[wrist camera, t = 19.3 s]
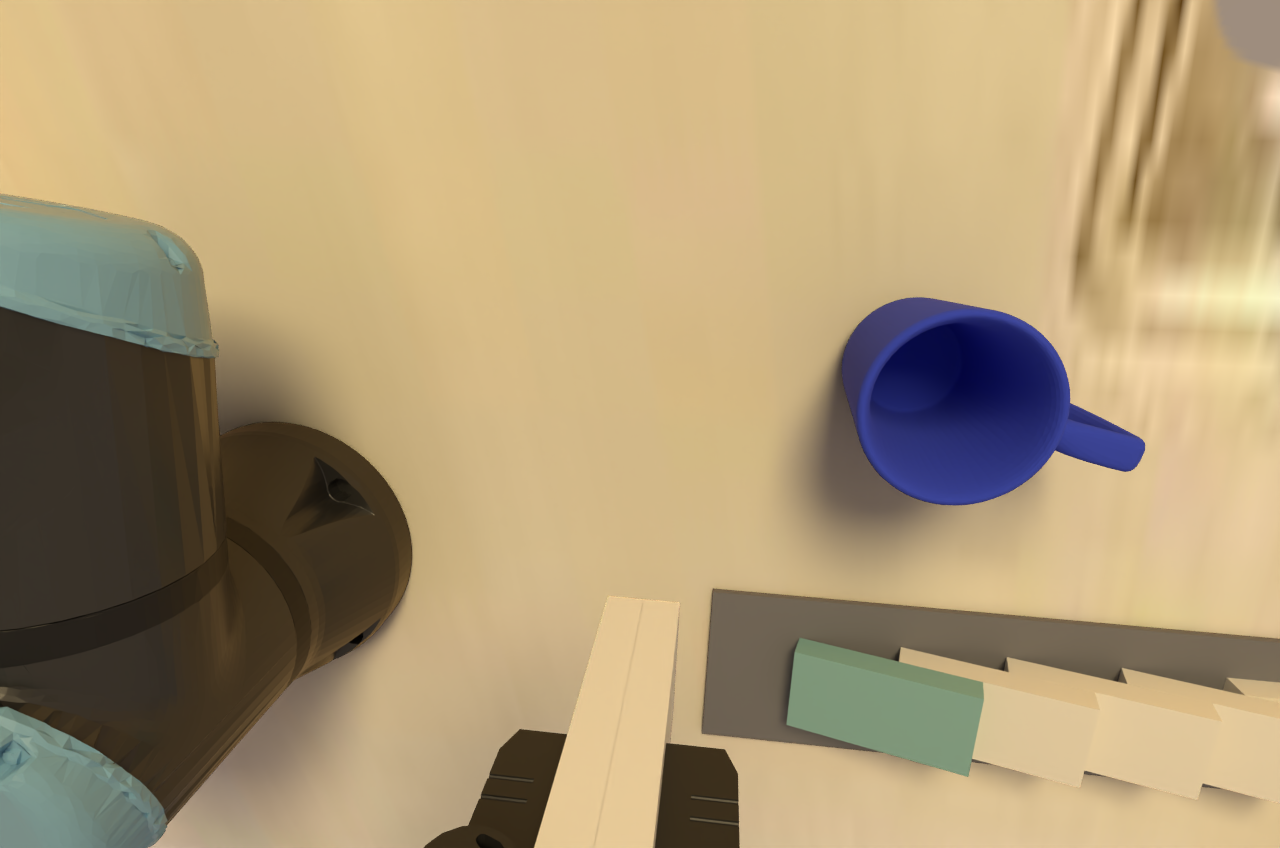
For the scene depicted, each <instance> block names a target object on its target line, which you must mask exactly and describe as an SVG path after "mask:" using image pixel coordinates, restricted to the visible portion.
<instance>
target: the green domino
mask: <svg viewBox="0 0 1280 848" xmlns="http://www.w3.org/2000/svg"><path fill="white" fill-rule="evenodd" d="M983 702H984V690H983V682H980V681H976V680H972V679H968V678H964V677H960V676H955V675H951V674H947V673H943V672H939V671H935V670H931V669H927V668H923V667H918V666H914V665H910V664H906V663H902V662H898V661H894V660H890V659H886V658H882V657H877V656H873V655H869V654H865V653H861V652H857V651H853V650H849V649H845V648H840V647H836V646H832V645H828V644H824V643H820V642H816V641H812V640H808V639H803V638H800V639H799V641H798V644H797V647H796V650H795V653H794V662H793V671H792V680H791V689H790V698H789V706H788V715H787V724H786V725H789V726H792V727H796V728H799V729H803V730H806V731H810V732H813V733H817V734H820V735H824V736H827V737H831V738H834V739H838V740H841V741H845V742H848V743H852V744H855V745H859V746H862V747H866V748H869V749H873V750H876V751H880V752H883V753H887V754H890V755H894V756H897V757H901V758H904V759H908V760H911V761H915V762H918V763H922V764H925V765H929V766H932V767H936V768H939V769H943V770H946V771H950V772H953V773H957V774H960V775H964V776H967V777H968V776H969V771H970V766H971V761H972V756H973V751H974V746H975V741H976V736H977V731H978V727H979V722H980V717H981V712H982V707H983Z"/></svg>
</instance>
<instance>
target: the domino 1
mask: <svg viewBox="0 0 1280 848" xmlns="http://www.w3.org/2000/svg"><path fill="white" fill-rule="evenodd" d="M898 662H902V663H906V664H910V665H914V666H918V667H923V668H927V669H931V670H935V671H939V672H943V673H947V674H951V675H955V676H960V677H964V678H968V679H972V680H976V681H980V682H983V690H984V702H983V707H982V712H981V717H980V722H979V727H978V731H977V736H976V741H975V746H974V751H973V756H972V759H975V760H979V761H983V762H986V763H990V764H993V765H997V766H1001V767H1004V768H1008V769H1012V770H1015V771H1019V772H1023V773H1026V774H1030V775H1033V776H1037V777H1041V778H1044V779H1048V780H1052V781H1055V782H1059V783H1063V784H1066V785H1070V786H1074V787H1077V788H1080V786H1081V782H1082V778H1083V774H1084V771H1085V767H1086V763H1087V759H1088V755H1089V751H1090V748H1091V744H1092V740H1093V736H1094V732H1095V728H1096V725H1097V721H1098V717H1099V713H1100V708H1099V705H1098V701H1097V698H1096V695H1095V692H1091V691H1086V690H1082V689H1078V688H1074V687H1069V686H1065V685H1061V684H1056V683H1052V682H1048V681H1044V680H1039V679H1035V678H1031V677H1027V676H1022V675H1018V674H1014V673H1010V672H1005V671H1001V670H997V669H992V668H988V667H984V666H980V665H975V664H971V663H967V662H963V661H958V660H954V659H950V658H946V657H941V656H937V655H933V654H928V653H924V652H920V651H916V650H911V649H907V648H903V647H901V649H900V655H899V661H898Z"/></svg>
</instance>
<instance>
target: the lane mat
mask: <svg viewBox="0 0 1280 848" xmlns="http://www.w3.org/2000/svg"><path fill="white" fill-rule="evenodd" d="M800 638H803V639H808V640H812V641H816V642H820V643H824V644H828V645H832V646H836V647H840V648H845V649H849V650H853V651H857V652H861V653H865V654H869V655H873V656H877V657H882V658H886V659H890V660H894V661H899V655H900V649H901V647H903V648H907V649H911V650H916V651H920V652H924V653H928V654H933V655H937V656H941V657H946V658H950V659H954V660H958V661H963V662H967V663H971V664H975V665H980V666H984V667H988V668H992V669H997V670H1001V671H1004V668H1005V663H1006V658H1007V657H1009V658H1014V659H1018V660H1022V661H1027V662H1031V663H1036V664H1040V665H1045V666H1049V667H1054V668H1058V669H1062V670H1067V671H1071V672H1076V673H1080V674H1085V675H1089V676H1094V677H1098V678H1102V679H1107V680H1111V681H1116V682H1118V679H1119V675H1120V672H1121V668H1125V669H1129V670H1134V671H1138V672H1143V673H1147V674H1152V675H1156V676H1161V677H1165V678H1170V679H1174V680H1178V681H1183V682H1187V683H1192V684H1196V685H1201V686H1205V687H1210V688H1214V689H1219V690H1223V688H1224V685H1225V682H1226V678H1236V679H1247V680H1258V681H1268V682H1279V683H1280V639H1274V638H1262V637H1251V636H1240V635H1229V634H1217V633H1206V632H1195V631H1184V630H1172V629H1161V628H1150V627H1139V626H1127V625H1116V624H1105V623H1093V622H1082V621H1071V620H1060V619H1048V618H1037V617H1026V616H1015V615H1003V614H992V613H981V612H970V611H958V610H947V609H936V608H924V607H913V606H902V605H891V604H879V603H868V602H857V601H846V600H834V599H823V598H812V597H801V596H789V595H778V594H767V593H755V592H744V591H733V590H722V589H713V598H712V611H711V624H710V637H709V650H708V664H707V677H706V690H705V703H704V716H703V729H702V733H703V734H713V735H722V736H732V737H741V738H750V739H760V740H769V741H778V742H788V743H797V744H807V745H816V746H825V747H835V748H844V749H853V750H863V751H872V752H880V751H876V750H873V749H869V748H866V747H862V746H859V745H855V744H852V743H848V742H845V741H841V740H838V739H834V738H831V737H827V736H824V735H820V734H817V733H813V732H810V731H806V730H803V729H799V728H796V727H792V726H789V725H786V724H787V715H788V706H789V698H790V689H791V680H792V671H793V662H794V653H795V650H796V647H797V644H798V641H799V639H800ZM882 753H883V752H882ZM971 762H975V763H985V764H990V763H986V762H983V761H979V760H975V759H972V761H971ZM1084 774H1088V775H1097V776H1104V775H1100V774H1096V773H1092V772H1088V771H1084ZM1202 787H1210V788H1218V787H1215V786H1211V785H1207V784H1202ZM1219 789H1222V788H1219Z"/></svg>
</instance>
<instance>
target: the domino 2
mask: <svg viewBox="0 0 1280 848" xmlns="http://www.w3.org/2000/svg"><path fill="white" fill-rule="evenodd" d="M1004 671H1005V672H1010V673H1014V674H1018V675H1022V676H1027V677H1031V678H1035V679H1039V680H1044V681H1048V682H1052V683H1056V684H1061V685H1065V686H1069V687H1074V688H1078V689H1082V690H1086V691H1091V692H1095V695H1096V698H1097V701H1098V705H1099V708H1100V713H1099V717H1098V721H1097V725H1096V728H1095V732H1094V736H1093V740H1092V744H1091V748H1090V751H1089V755H1088V759H1087V763H1086V767H1085V771H1088V772H1092V773H1096V774H1100V775H1104V776H1107V777H1111V778H1115V779H1119V780H1123V781H1126V782H1130V783H1134V784H1138V785H1142V786H1145V787H1149V788H1153V789H1157V790H1161V791H1164V792H1168V793H1172V794H1176V795H1179V796H1183V797H1187V798H1191V799H1195V800H1197V799H1198V796H1199V793H1200V790H1201V787H1202V784H1203V781H1204V777H1205V774H1206V771H1207V768H1208V765H1209V762H1210V759H1211V756H1212V752H1213V749H1214V746H1215V743H1216V740H1217V737H1218V734H1219V731H1220V727H1221V724H1222V720H1221V718H1220V716H1219V715H1218V713H1217V711H1216V709H1215V707H1214V705H1213V704H1212V703H1209V702H1205V701H1200V700H1196V699H1191V698H1187V697H1183V696H1178V695H1174V694H1169V693H1165V692H1160V691H1156V690H1151V689H1147V688H1142V687H1138V686H1134V685H1129V684H1125V683H1120V682H1116V681H1111V680H1107V679H1102V678H1098V677H1094V676H1089V675H1085V674H1080V673H1076V672H1071V671H1067V670H1062V669H1058V668H1054V667H1049V666H1045V665H1040V664H1036V663H1031V662H1027V661H1022V660H1018V659H1014V658H1009V657H1007V658H1006V663H1005V668H1004Z"/></svg>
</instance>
